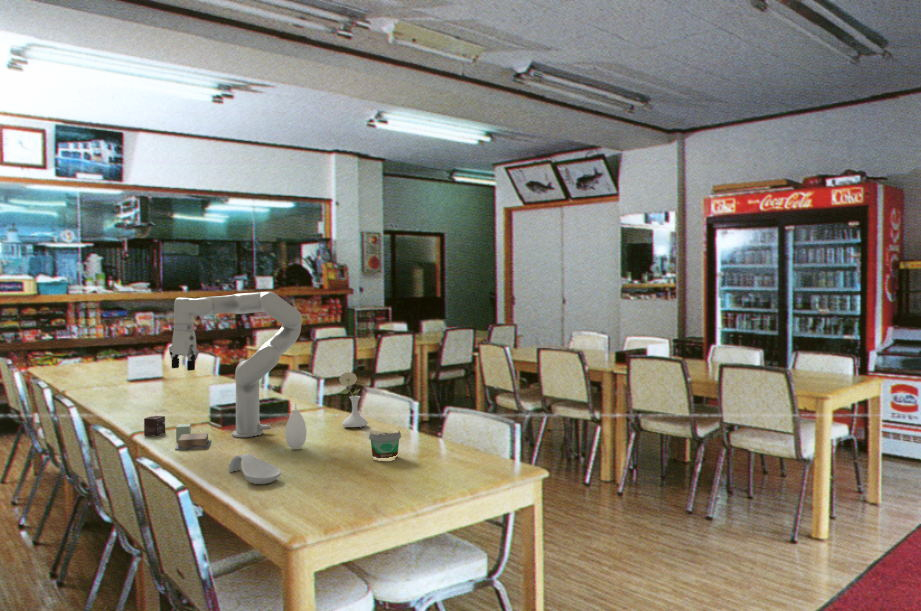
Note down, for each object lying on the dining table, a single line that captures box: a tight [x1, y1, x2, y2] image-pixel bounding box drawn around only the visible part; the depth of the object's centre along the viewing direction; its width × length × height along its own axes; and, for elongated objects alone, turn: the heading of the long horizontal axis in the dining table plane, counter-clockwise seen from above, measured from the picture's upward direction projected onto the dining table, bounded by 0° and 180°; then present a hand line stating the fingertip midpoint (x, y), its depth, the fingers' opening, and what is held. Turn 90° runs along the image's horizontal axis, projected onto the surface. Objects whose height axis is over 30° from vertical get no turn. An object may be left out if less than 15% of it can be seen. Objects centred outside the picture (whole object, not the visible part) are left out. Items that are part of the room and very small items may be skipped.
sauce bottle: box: [284, 403, 307, 450], centre depth 254 cm, size 8×8×18 cm
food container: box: [368, 430, 402, 458], centre depth 240 cm, size 12×6×10 cm, turn 117°
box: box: [143, 415, 166, 437], centre depth 277 cm, size 6×6×7 cm
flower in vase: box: [338, 371, 368, 428], centre depth 293 cm, size 13×11×25 cm
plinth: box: [174, 432, 212, 451], centre depth 259 cm, size 12×12×4 cm
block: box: [175, 423, 192, 442], centre depth 268 cm, size 5×5×6 cm
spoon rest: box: [227, 453, 282, 485], centre depth 218 cm, size 24×12×7 cm, turn 49°
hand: (183, 369), depth 269 cm, fingers open, 9 cm apart
